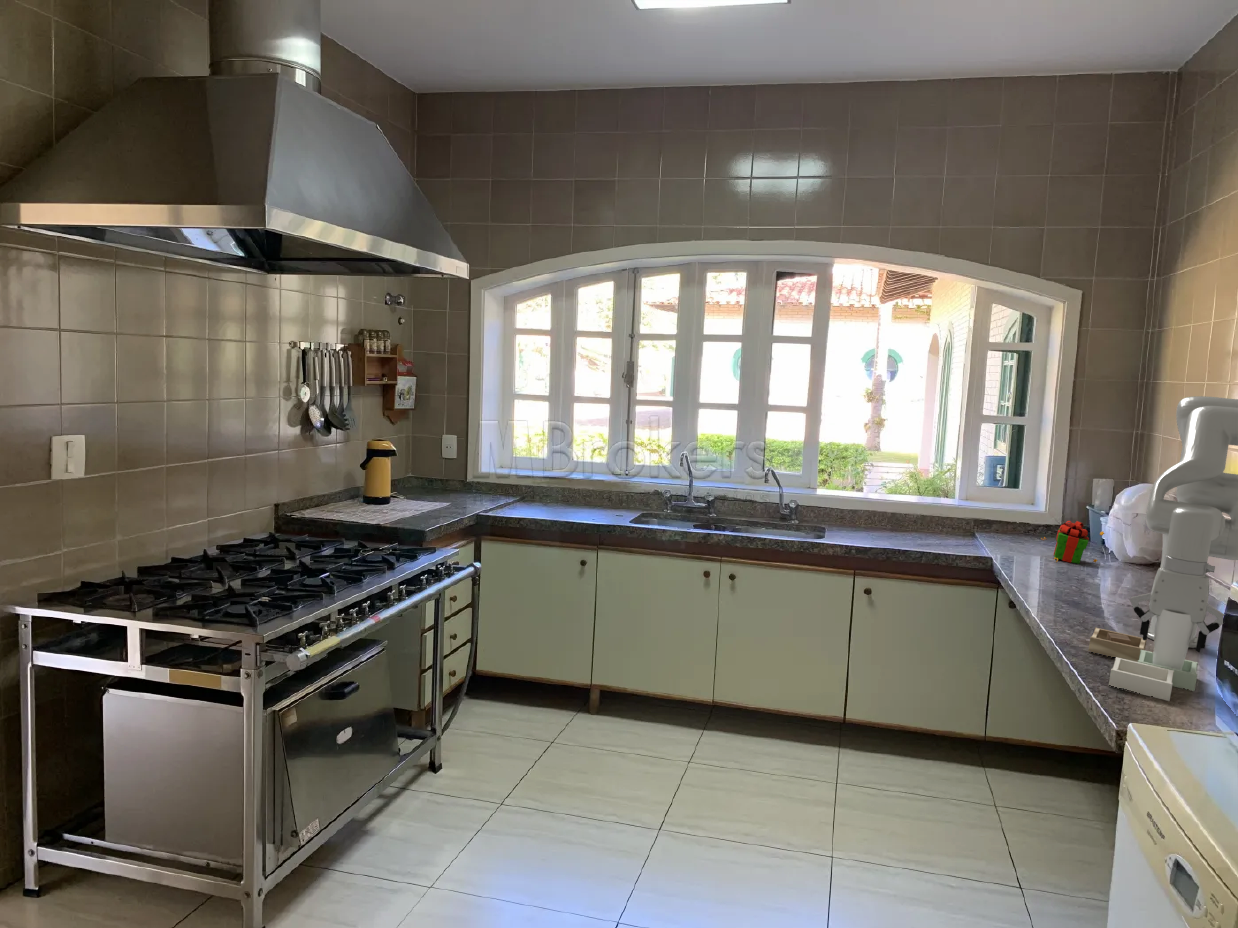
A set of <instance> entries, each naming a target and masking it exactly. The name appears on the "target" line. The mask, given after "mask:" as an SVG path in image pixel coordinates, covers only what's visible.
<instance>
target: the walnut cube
mask: <svg viewBox="0 0 1238 928" xmlns="http://www.w3.org/2000/svg"><path fill="white" fill-rule="evenodd" d="M1106 640H1109V641H1113V642H1118V643H1122V644H1126V645H1130V643H1131V640H1130V639H1129V638H1128V636H1126V635H1120V634H1114V633H1107V639H1106Z"/></svg>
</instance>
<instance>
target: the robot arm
mask: <svg viewBox="0 0 1238 928" xmlns="http://www.w3.org/2000/svg"><path fill="white" fill-rule="evenodd" d="M1175 417H1176V419H1175V420H1176V426H1177V429H1178V434H1179V437H1180V441H1181V446H1182V448H1181V454H1180V459H1179V462H1178V463H1175V464H1174V465H1173V466H1170V467H1169V468H1168V469H1166V470H1165V471H1163V473H1161V474H1160V475H1159V476H1158V477H1157V479H1156V480H1155V481H1154V483H1153V485H1152V487H1151V490H1150V493H1149V497H1148V503H1147V507H1146V512H1145V524H1146V526H1147V528H1148V530H1150V531H1152V532H1154V533H1157V534H1161V535H1162V550H1161V551H1162V552H1161V560H1160V561H1161V562H1160V567H1158V569H1157V571H1156V573H1155V576H1154V580H1153V583H1152V588H1151V591H1150V592H1148V593H1143V594H1139V595H1134V596H1131V597H1130V599H1129V601H1130V603H1131V606H1132V609H1133V612H1134V613H1135V615H1136V616H1138V618H1139V619H1140V621H1141V625H1140V628H1139V635H1140V636H1142V638H1143V640H1147V639H1148V638H1149V640H1153V641H1154V634H1155V623H1156V617H1157V616H1160V615H1161V613H1162V610H1167V611H1170V612H1175V613H1180V614H1189V615H1191V622H1192V623H1194V628H1193V633H1192V637H1191V640H1190V644H1189V647H1188V649H1189V648H1190V649H1191V648H1192V649H1193V648H1195V652H1197V653H1201V649H1205V648H1206V643H1207V637H1208V635H1209V634H1211V633H1213V632H1214V631H1216V630H1218V629H1220V627H1221V626H1222V625H1223V624H1224V623H1223V616H1224V615H1225V613H1223V612H1221V611H1220V610H1219V609H1217V608H1215V607H1214V606H1213V605H1211V604H1210V603H1209V596H1210V577H1209V575H1207V574H1208V573H1215V569H1216V566H1215V565H1211V564H1209V560H1208V559H1209V557H1210V558H1217V559H1223V560H1231V561H1238V474H1236V473H1227V472H1225V469H1226V464H1227V458H1228V457H1227V456H1228V453H1229V452H1228V451H1229V446H1237V447H1238V399H1237V398H1227V397H1217V396H1204V395H1203V396H1202V395H1201V396H1199V395H1198V396H1186V397H1184V398H1182V399H1180V401H1178V404H1177V406H1176V413H1175ZM1174 488H1176V491H1175V493H1176V494H1175V497H1176V500H1177V501H1176V500H1171V499H1170V500H1169V499H1164V498H1165V495H1166V494H1167V493H1168V492H1169V491H1171V490H1172V489H1174ZM1223 514H1227V515H1228V516H1229V517H1230V519H1229V518H1225V516H1224V515H1223ZM1145 601H1146V602H1147V601H1149V603H1148V604H1149V605H1148V610H1147V611H1144V610H1143V609H1142V608H1141V606H1140V603H1141V602H1145ZM1207 613H1209V614H1211V615H1212V616H1214V617H1215V618H1216V619H1215V620H1214V621H1213V622H1211V623H1208V624H1207V623H1206V621H1205V619H1206V616H1207ZM1150 619H1151V621H1150ZM1198 628H1199V630H1200V631H1198V636H1197V630H1198ZM1147 641H1148V640H1147Z"/></svg>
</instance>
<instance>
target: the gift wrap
mask: <svg viewBox="0 0 1238 928" xmlns="http://www.w3.org/2000/svg"><path fill="white" fill-rule="evenodd" d="M1083 527H1084V523H1083V522H1081V521H1078V520H1076V521H1075V522H1072V521H1071V520H1067V521H1066V522H1063V523H1062V524H1061V525H1060V526H1059V528H1058V530H1057V534H1056V543H1055V547H1054V550H1053V557H1054V558H1053V560H1055V559H1056V561H1055V563H1057V562H1058V561H1059V560H1061V561H1062V562H1067V563H1070V564H1071V563H1072V564H1073V563H1074V564H1077V565H1079V564H1080V563H1081V559H1082V556H1083V554H1084V551H1085V550H1086V549H1087V547H1088V543H1089V539H1090V538H1089V537H1088V536H1089V535H1088V534H1089V533H1088V530H1087V529H1085V528H1083ZM1104 534H1106V533H1105V532H1104V531H1100V532H1099V536H1104ZM1040 539H1041V540H1042V541H1044V540H1048V539H1047V538H1046V537H1045V536H1044V537H1043V538H1042V537H1041V538H1040ZM1096 562H1098V559H1097V558H1095V559H1093V561H1092V563H1096Z"/></svg>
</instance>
